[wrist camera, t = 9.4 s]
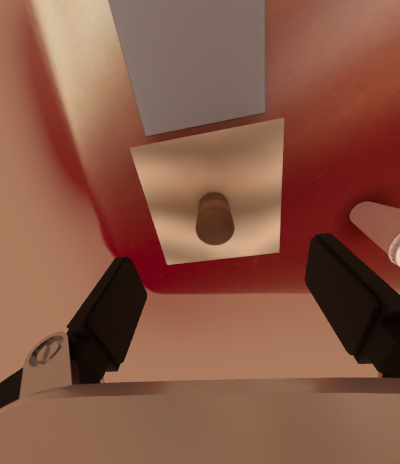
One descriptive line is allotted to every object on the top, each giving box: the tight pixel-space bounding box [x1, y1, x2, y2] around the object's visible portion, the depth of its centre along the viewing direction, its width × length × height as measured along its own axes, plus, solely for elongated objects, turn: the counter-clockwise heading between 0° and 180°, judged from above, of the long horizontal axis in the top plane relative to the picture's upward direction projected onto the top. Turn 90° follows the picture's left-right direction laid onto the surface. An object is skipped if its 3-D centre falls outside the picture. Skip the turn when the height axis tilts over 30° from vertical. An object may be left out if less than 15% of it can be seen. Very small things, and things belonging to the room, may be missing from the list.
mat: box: [108, 0, 265, 136], centre depth 19 cm, size 15×15×1 cm
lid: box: [130, 118, 284, 265], centre depth 18 cm, size 14×14×6 cm
